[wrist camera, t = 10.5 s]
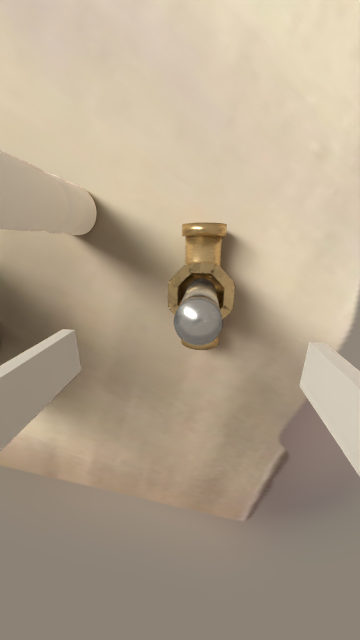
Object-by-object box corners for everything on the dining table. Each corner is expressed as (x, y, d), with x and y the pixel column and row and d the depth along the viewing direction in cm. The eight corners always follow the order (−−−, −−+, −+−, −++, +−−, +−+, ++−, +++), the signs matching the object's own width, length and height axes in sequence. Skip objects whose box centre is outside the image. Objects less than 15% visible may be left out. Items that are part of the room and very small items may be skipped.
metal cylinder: (186, 307, 30) (173, 344, 19) (186, 277, 29) (173, 299, 17) (215, 308, 30) (221, 347, 18) (217, 278, 28) (224, 300, 17)
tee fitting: (223, 335, 37) (228, 360, 29) (177, 333, 38) (168, 356, 30) (232, 226, 31) (240, 220, 23) (177, 226, 32) (167, 220, 24)
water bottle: (107, 209, 33) (-148, 119, 9) (82, 245, 35) (-172, 243, 12) (71, 174, 32) (-315, -27, 8) (48, 212, 34) (-306, 140, 11)
